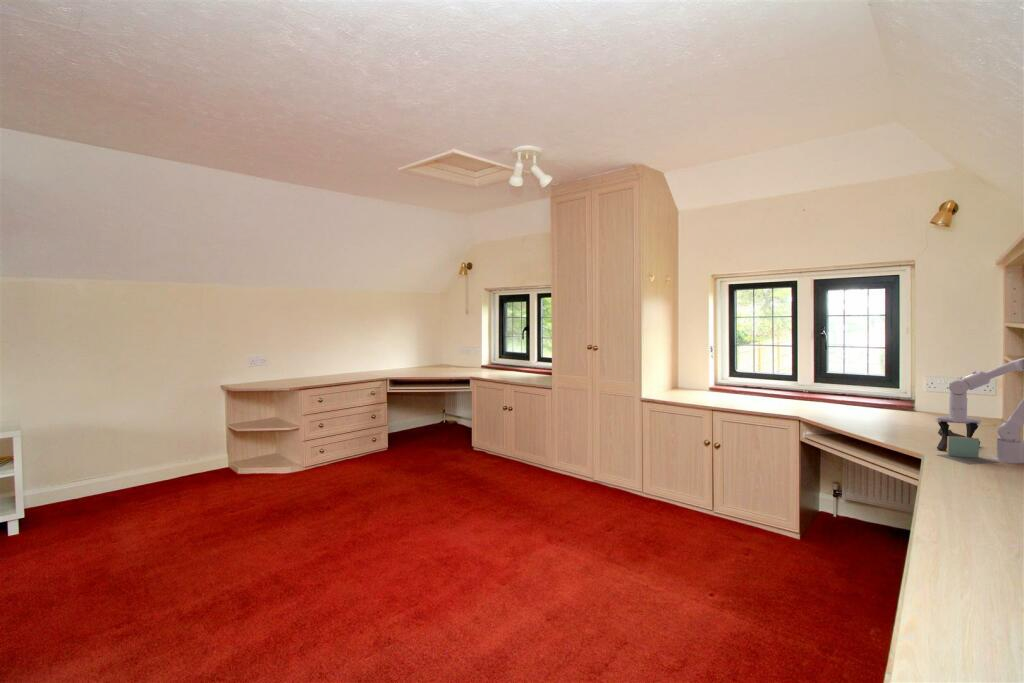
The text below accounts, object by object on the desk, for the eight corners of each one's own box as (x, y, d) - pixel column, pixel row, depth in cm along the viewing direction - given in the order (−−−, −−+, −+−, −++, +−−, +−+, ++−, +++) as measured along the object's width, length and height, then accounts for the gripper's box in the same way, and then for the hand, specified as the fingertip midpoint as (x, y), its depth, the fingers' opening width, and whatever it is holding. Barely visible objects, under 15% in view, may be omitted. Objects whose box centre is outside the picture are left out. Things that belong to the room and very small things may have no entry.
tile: (947, 454, 215) (947, 436, 214) (977, 457, 211) (977, 438, 211) (948, 455, 213) (948, 437, 213) (978, 457, 210) (979, 438, 209)
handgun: (933, 449, 224) (938, 427, 224) (968, 458, 231) (973, 437, 232) (943, 451, 220) (948, 429, 221) (978, 461, 228) (983, 439, 228)
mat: (964, 454, 217) (964, 453, 217) (999, 463, 203) (999, 462, 203) (935, 456, 215) (935, 454, 215) (969, 465, 201) (969, 464, 201)
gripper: (975, 407, 217) (974, 438, 218) (933, 405, 223) (932, 436, 224) (983, 410, 211) (982, 442, 211) (939, 408, 216) (938, 440, 217)
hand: (957, 439), depth 217 cm, fingers open, 7 cm apart
